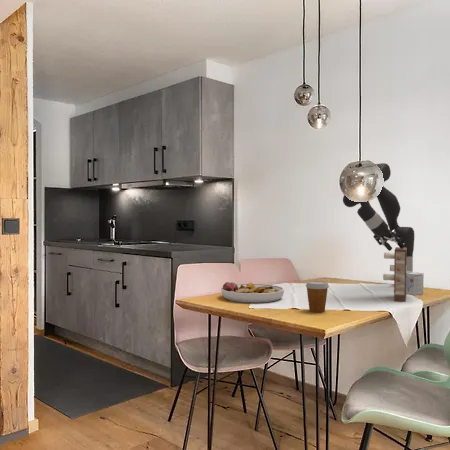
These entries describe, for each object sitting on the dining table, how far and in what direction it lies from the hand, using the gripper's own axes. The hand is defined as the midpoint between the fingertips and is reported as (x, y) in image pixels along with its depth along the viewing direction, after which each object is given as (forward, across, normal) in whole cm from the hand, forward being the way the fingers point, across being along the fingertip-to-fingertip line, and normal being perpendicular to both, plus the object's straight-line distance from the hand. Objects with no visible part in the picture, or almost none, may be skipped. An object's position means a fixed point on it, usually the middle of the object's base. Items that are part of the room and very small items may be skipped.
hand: (396, 248), depth 231 cm
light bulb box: (+28, +14, +1) cm, 31 cm away
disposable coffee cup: (-14, -6, +56) cm, 58 cm away
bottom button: (+10, +5, +11) cm, 16 cm away
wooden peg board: (+19, +4, +14) cm, 24 cm away
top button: (+5, +7, +1) cm, 8 cm away
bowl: (-27, +31, +60) cm, 73 cm away
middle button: (+7, -2, +9) cm, 11 cm away
